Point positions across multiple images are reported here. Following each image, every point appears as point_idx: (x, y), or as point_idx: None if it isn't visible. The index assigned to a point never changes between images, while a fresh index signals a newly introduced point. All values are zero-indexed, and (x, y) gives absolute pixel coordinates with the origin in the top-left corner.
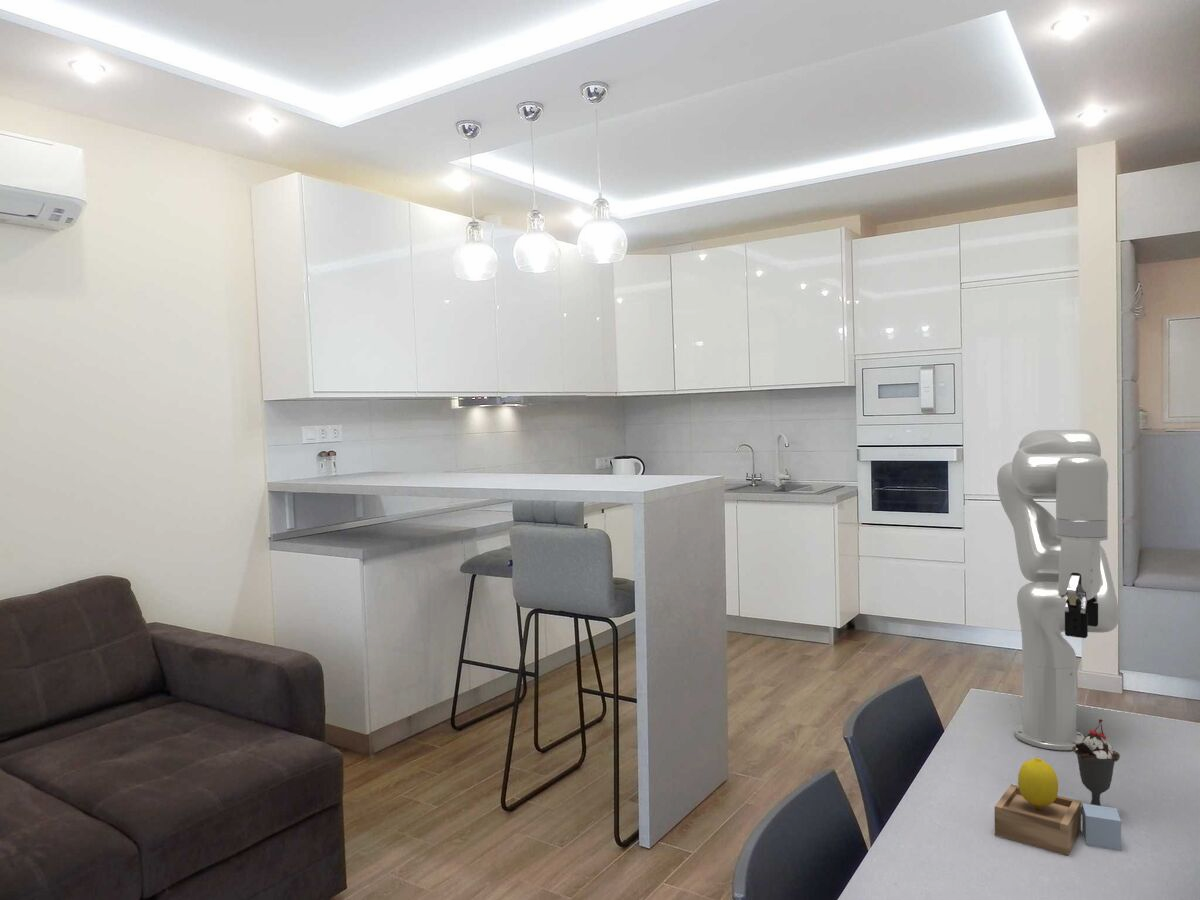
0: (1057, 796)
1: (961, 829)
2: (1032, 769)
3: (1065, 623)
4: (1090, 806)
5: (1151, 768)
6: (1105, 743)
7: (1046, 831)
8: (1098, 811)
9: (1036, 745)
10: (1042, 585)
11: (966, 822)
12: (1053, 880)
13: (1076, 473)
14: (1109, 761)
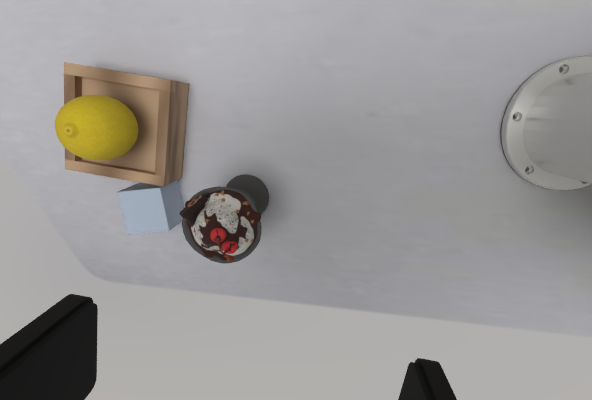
0: (160, 153)
1: (84, 18)
2: (55, 121)
3: (15, 336)
4: (154, 198)
5: (471, 277)
6: (214, 249)
7: None
8: (143, 208)
9: (509, 104)
10: None
11: (112, 22)
12: (20, 147)
13: None
14: (195, 244)
